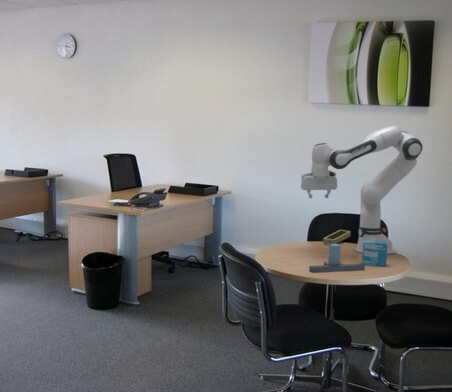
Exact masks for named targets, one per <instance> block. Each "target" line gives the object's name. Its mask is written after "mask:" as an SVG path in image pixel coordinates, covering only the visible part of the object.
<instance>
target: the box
mask: <svg viewBox="0 0 452 392" xmlns="http://www.w3.org/2000/svg"><path fill="white" fill-rule="evenodd" d="M351 233H352V232H351V230H345V229H339V230H337V231H335V232H332V233H331V234H329V235H326V236H325V237H323V238H322V241H323V243H324V245H325V246H329V244H339V243H340V242H343V241H344V240H346V239H348V238H350V237H351Z"/></svg>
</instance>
